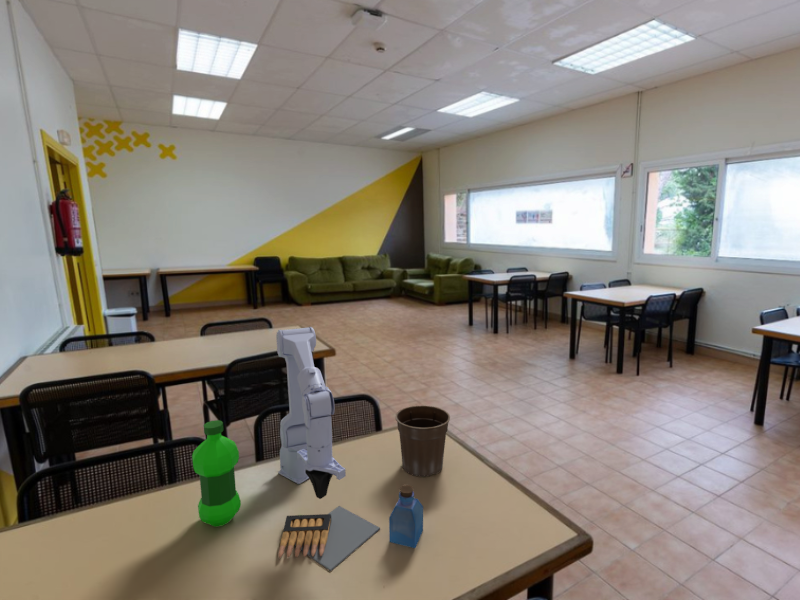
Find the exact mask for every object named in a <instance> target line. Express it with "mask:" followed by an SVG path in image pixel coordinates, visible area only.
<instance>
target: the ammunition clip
mask: <svg viewBox="0 0 800 600" xmlns="http://www.w3.org/2000/svg"><path fill="white" fill-rule="evenodd" d="M284 521H285V522H284V525H283V531H282V536H281V539H280V542H279V549H278V558H279V559H281V558H282V557H283V554H284V553H285V549H286V548H287V549H286V558H287V559H288V558H290V556H291V555H292V553H293V550H294V548H295V551H294V555H295V558H298V557H299V555H300V553H301V552H302V551H301V548H302V545H303V543H304V549H303V552H302V554H303V558H305V557H307V553H308V551H309V547H310V544H311V542H312V548H311V555H312V557H313V556H314V555H315V553H316V550H317V546H318V543H319V540H320V548H319V554H320V556H322V555H323V553H324V550H325V546H326V543H327V538H328V534H329V529H330V525H331V514H328V513H324V514H322V513H320V514H297V515H286V517H285V520H284ZM306 530H307V531H306ZM321 530H322V531H321ZM313 532H314V533H313ZM320 536H321V537H320ZM312 537H313V539H312ZM296 539H297V541H296ZM304 539H305V540H304ZM295 543H296V547H294V545H295Z"/></svg>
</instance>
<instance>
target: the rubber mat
mask: <svg viewBox="0 0 800 600" xmlns="http://www.w3.org/2000/svg"><path fill="white" fill-rule="evenodd" d="M327 514H331V525H330V529H329V534H328V538H327V543H326V546H325V550H324V553H323V555H322V556H320V554H319V548H320V540H319V543H318V546H317V550H316V553H315V555H314V556H313V557H312V555H311V548H312V542H311V544H310V547H309V551H308V553H307V555H306V557H308V558H310V559H312V560H313V561H315V562H316V563H318V564H319V565H320V566H322V567H324V568H325V569H327V570H329V571H330V572H331V571H333V570H334V569H335V568H337V567H338V566H339V565H340V564H341V563H342V562H343V561H345V560H346V559H347V558H348V557H349V556H350V555H352V554H353V553H354V552H355V551H356V550H357V549H359V548H360V547H361V546H362V545H363V544H365V543H366V542H367V541H368V540H370V539H371V538H372V537H373V536H374V535H375V534H376V533H377V532H378V531H380V530H381V527H379V526H377V525H375V524H374V523H372V522H370V521H368V520H367V519H366V518H363V517H361V516H359V515H357V514H355V513H353V512H352V511H350V510H348V509H346V508H344V507H343V506H340V505H339V506H337V507H336V508H334V509H332V510H331V511H330V512H328V513H327ZM306 531H307V530H306ZM321 531H322V530H321ZM313 533H314V532H313ZM320 537H321V536H320ZM312 539H313V537H312ZM304 540H305V539H304ZM296 541H297V539H296ZM294 548H296V543H295V545H294ZM303 549H304V543H303V545H302V548H301V551H300V552H302V553H303Z"/></svg>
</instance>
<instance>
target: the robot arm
mask: <svg viewBox="0 0 800 600" xmlns="http://www.w3.org/2000/svg"><path fill="white" fill-rule="evenodd" d="M316 346H317V336H316V332H315V329H314V328H313V326H308V327H301V328H290V329H288V328H287V329H278V331H277V332H276V350H277V354H278V358H283V359H284V360H285V363H286V374H287V376H286V377H287V378H286V379H287V392H288V394H287V395H288V404H289V405H288V407H289V412H288V413H287V415H285V416H284V417H283V418H282V419H281V420H280V423H279V424H280V428H279V429H280V430H279V434H280V435H279V437H280V443H281V447H280V450H279V466H280V468H279V469H280V470H279V471H277V472H278V474H279V475H281V476H283V477H284V478H286V479H288V480H290V481H292V482H293V483H296V484H298V485H300V484H302V483H303V482H306V481H307V480H309V481H310V483H311V485H312V487H313V491H314V494H315V497H316V498H318V499H319V500H321V499H323V498H325V497H326V496H327V494H328V489H329V486H330V482H331V479H333V478H332V477H333V476H334V477H336V480H339V481H340V480H341V479H344V478H345V477H346V468H345V467H343V466H342V465H341V463H339V462H338V461H337V460H336V458H334V456H333V432H332V431H333V429H332V416H333V415H334V414H335V400H334V395H333V392H332V391H331V389H329V388H330V387H328V386H326V384H325V381H324V378H323V374H322V372H321V369H319V368H318V367H315V364H314V358H313V353H312V352H313V351H314V350H315V348H316Z"/></svg>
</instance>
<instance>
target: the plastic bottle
mask: <svg viewBox="0 0 800 600" xmlns="http://www.w3.org/2000/svg"><path fill="white" fill-rule="evenodd" d="M223 431H224V422H223V421H222V420H219V419H218V420H210V421H207V422H206V423H204V424H203V432H204V433H203V434H204V435H206V439H205V440H204V441H202V442H201V443H200V444H199V445H198V446H197V447H196V448H195V449H194V450H193V451H192V455H191V459H192V468H193V471H194V473H195V474H197V475H198V476H199V483H200V484H199V485H200V493H201V494H200V499H199V502H198V504H197V510H198V511H197V512H198V516H199V517H198V518H199V520H200V521H202V522H203V524H204V523H205V524H207V525H210V526H212V527H215V528H217V527H223V526H225V525H226V524H229V522H230V521H232V520H233V518H234V517H235V516H236V514H238V512H239V511H240V508H241V505H242V502H241V498H240V494H239V492H238V490H236V489H237V488H236V476H235V467H236V465H237V463H239V459H240V452H239V449H238V446H237V444H236V442H235V441H234V440H232V439H230V438H229V437H226V436H224V435H222V432H223Z"/></svg>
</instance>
